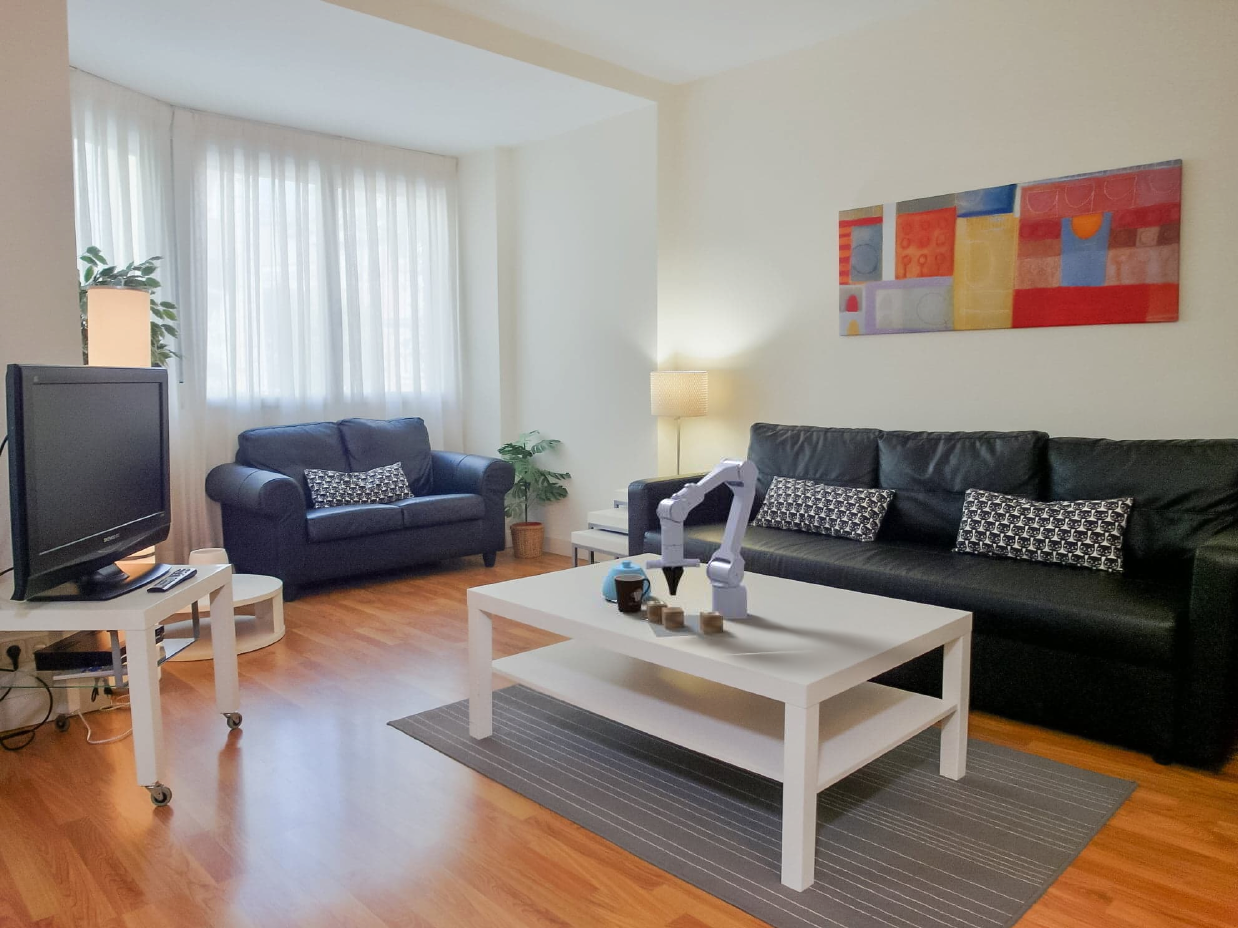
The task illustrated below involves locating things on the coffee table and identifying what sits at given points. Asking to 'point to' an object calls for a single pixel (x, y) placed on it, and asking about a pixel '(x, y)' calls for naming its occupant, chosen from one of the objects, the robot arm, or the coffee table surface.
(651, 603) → the labelled block
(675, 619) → the plain block
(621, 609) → the coffee mug
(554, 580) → the coffee table surface
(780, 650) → the coffee table surface
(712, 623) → the labelled block
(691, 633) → the grey mat
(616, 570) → the sugar bowl
